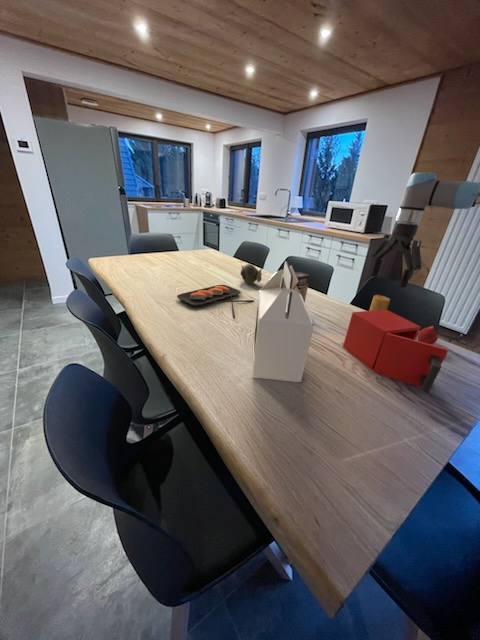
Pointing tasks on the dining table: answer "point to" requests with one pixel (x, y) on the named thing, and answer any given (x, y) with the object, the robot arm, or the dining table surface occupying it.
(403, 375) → the red drawer
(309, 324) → the gable box
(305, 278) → the coffee box
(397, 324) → the valve cabinet
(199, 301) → the sushi plate
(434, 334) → the onion
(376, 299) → the yellow orange cylinder
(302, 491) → the dining table surface
